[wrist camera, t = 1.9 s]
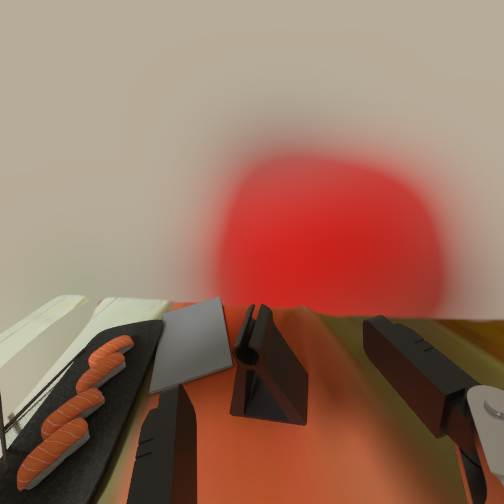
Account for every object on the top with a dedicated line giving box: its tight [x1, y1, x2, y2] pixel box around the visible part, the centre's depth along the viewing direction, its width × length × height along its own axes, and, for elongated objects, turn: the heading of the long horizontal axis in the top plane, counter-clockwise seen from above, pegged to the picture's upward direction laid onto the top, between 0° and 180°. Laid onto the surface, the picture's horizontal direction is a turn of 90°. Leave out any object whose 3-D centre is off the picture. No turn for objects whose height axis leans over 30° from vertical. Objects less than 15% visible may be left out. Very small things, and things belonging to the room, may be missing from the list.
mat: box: [149, 297, 233, 395], centre depth 42 cm, size 12×18×1 cm, turn 13°
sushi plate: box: [0, 320, 163, 504], centre depth 35 cm, size 29×30×4 cm
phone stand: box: [230, 304, 308, 426], centre depth 28 cm, size 9×6×12 cm, turn 76°
